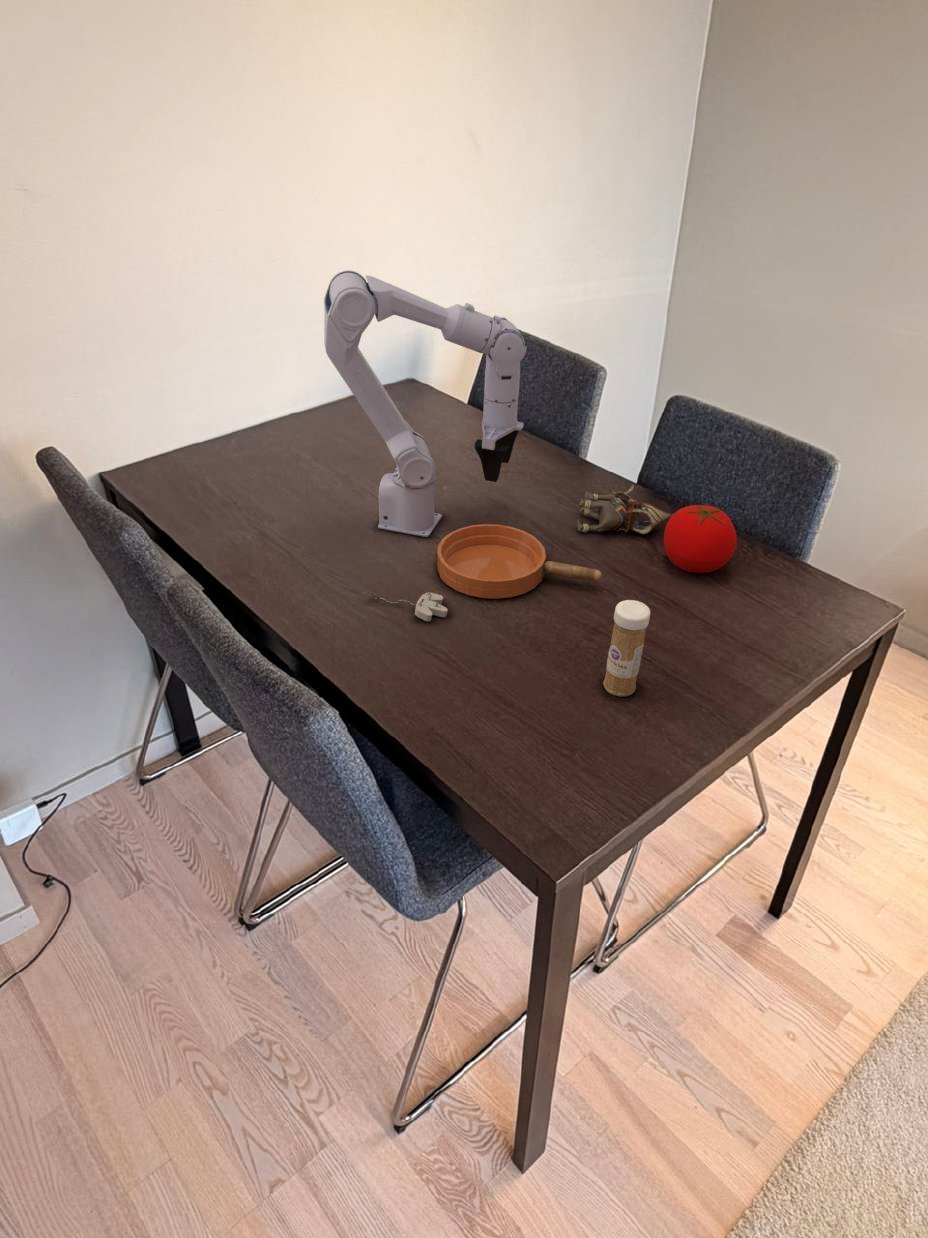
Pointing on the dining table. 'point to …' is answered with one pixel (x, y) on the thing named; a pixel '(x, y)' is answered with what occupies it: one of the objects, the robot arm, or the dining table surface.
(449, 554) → the pan
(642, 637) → the sprinkles bottle
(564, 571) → the pan handle
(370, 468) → the dining table surface
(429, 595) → the game controller
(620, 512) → the figurine
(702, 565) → the tomato
